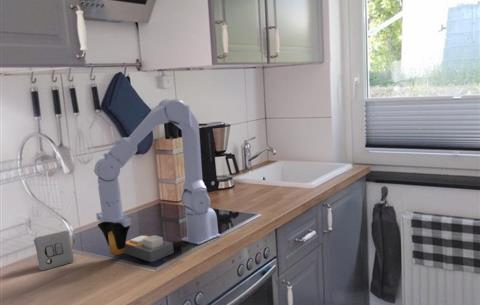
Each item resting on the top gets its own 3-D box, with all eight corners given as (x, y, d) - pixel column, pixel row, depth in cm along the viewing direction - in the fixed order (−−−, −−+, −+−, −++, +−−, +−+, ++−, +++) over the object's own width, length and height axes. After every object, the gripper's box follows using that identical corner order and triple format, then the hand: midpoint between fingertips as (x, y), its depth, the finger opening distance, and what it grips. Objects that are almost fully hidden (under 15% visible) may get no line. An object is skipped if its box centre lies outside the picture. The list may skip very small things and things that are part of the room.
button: (155, 244, 134) (154, 235, 133) (163, 247, 131) (162, 237, 130) (144, 249, 131) (142, 239, 130) (152, 251, 128) (151, 241, 127)
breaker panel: (144, 244, 141) (143, 234, 140) (173, 252, 131) (172, 242, 131) (122, 252, 135) (121, 242, 134) (151, 262, 126) (150, 251, 125)
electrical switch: (40, 272, 125) (34, 239, 125) (37, 268, 130) (31, 236, 129) (75, 262, 130) (69, 231, 130) (70, 259, 135) (65, 228, 134)
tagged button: (142, 245, 138) (141, 235, 138) (150, 247, 135) (149, 237, 135) (131, 249, 135) (130, 239, 135) (139, 251, 132) (138, 241, 132)
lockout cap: (118, 249, 133) (116, 229, 132) (127, 251, 131) (125, 230, 130) (107, 253, 130) (104, 233, 129) (116, 255, 127) (114, 235, 126)
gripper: (84, 201, 130) (90, 246, 132) (112, 207, 120) (119, 256, 122) (106, 195, 135) (112, 239, 137) (135, 200, 125) (140, 247, 127)
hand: (116, 246), depth 130 cm, fingers closed on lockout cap, 4 cm apart
